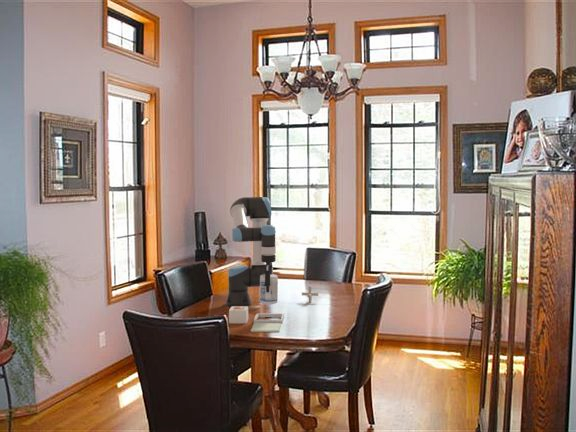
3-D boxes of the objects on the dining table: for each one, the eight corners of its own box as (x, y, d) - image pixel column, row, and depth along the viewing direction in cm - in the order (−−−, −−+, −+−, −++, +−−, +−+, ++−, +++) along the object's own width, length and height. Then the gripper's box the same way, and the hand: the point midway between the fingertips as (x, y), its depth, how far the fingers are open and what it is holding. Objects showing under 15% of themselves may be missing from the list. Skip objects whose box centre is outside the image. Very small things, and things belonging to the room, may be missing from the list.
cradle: (256, 317, 313) (256, 313, 313) (284, 317, 312) (284, 313, 312) (253, 323, 298) (253, 320, 298) (282, 324, 298) (282, 320, 297)
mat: (254, 324, 297) (254, 323, 297) (281, 324, 296) (281, 323, 296) (250, 331, 283) (250, 330, 283) (279, 332, 282) (279, 330, 282)
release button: (235, 315, 307) (235, 306, 306) (243, 315, 306) (243, 306, 306) (233, 317, 302) (233, 308, 302) (242, 317, 302) (242, 308, 301)
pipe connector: (316, 304, 343) (316, 287, 342) (300, 303, 345) (300, 287, 344) (319, 300, 353) (319, 284, 352) (303, 300, 355) (303, 284, 354)
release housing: (231, 319, 309) (231, 306, 309) (248, 319, 309) (248, 306, 308) (229, 323, 300) (228, 310, 300) (246, 323, 300) (246, 310, 299)
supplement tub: (259, 304, 300) (259, 277, 299) (260, 300, 310) (260, 273, 309) (277, 304, 300) (277, 277, 299) (278, 300, 310) (277, 273, 309)
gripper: (263, 251, 314) (263, 291, 316) (259, 257, 292) (259, 300, 294) (277, 251, 314) (277, 291, 316) (273, 257, 292) (274, 300, 294)
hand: (268, 296), depth 305 cm, fingers closed on supplement tub, 9 cm apart
